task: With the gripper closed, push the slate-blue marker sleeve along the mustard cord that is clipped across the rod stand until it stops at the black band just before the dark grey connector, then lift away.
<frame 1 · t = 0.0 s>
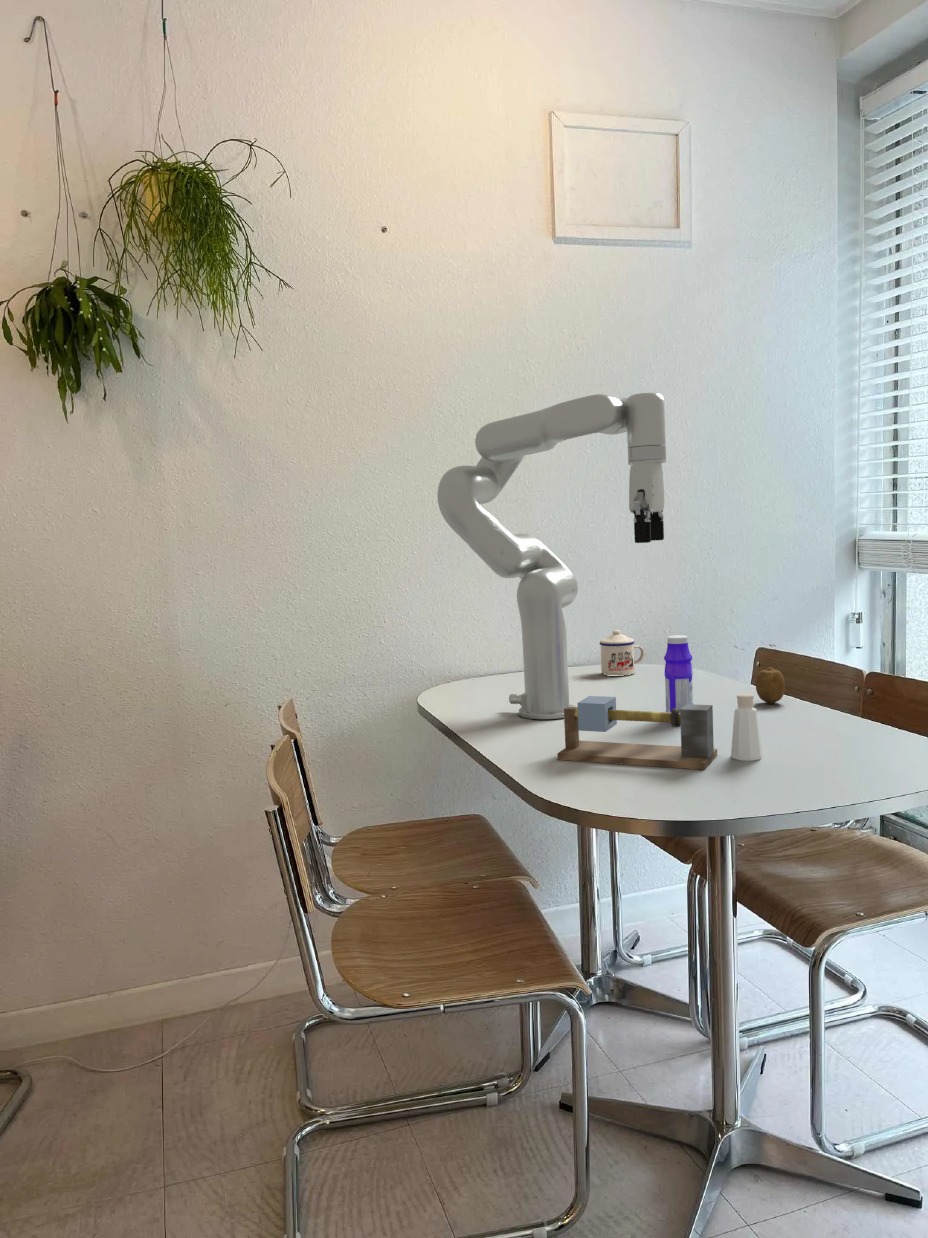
hand: (649, 541, 198), 37 cm above the table, tool pointing down, fingers open, 9 cm apart
fruit: (770, 704, 211), on the table
pepper shaker: (746, 758, 169), on the table
rod stand: (636, 757, 172), on the table
teacup with lid: (623, 674, 258), on the table
sleeve: (597, 713, 174), point 8 cm above the table, slide at 0.0 cm
bottle: (680, 721, 200), on the table
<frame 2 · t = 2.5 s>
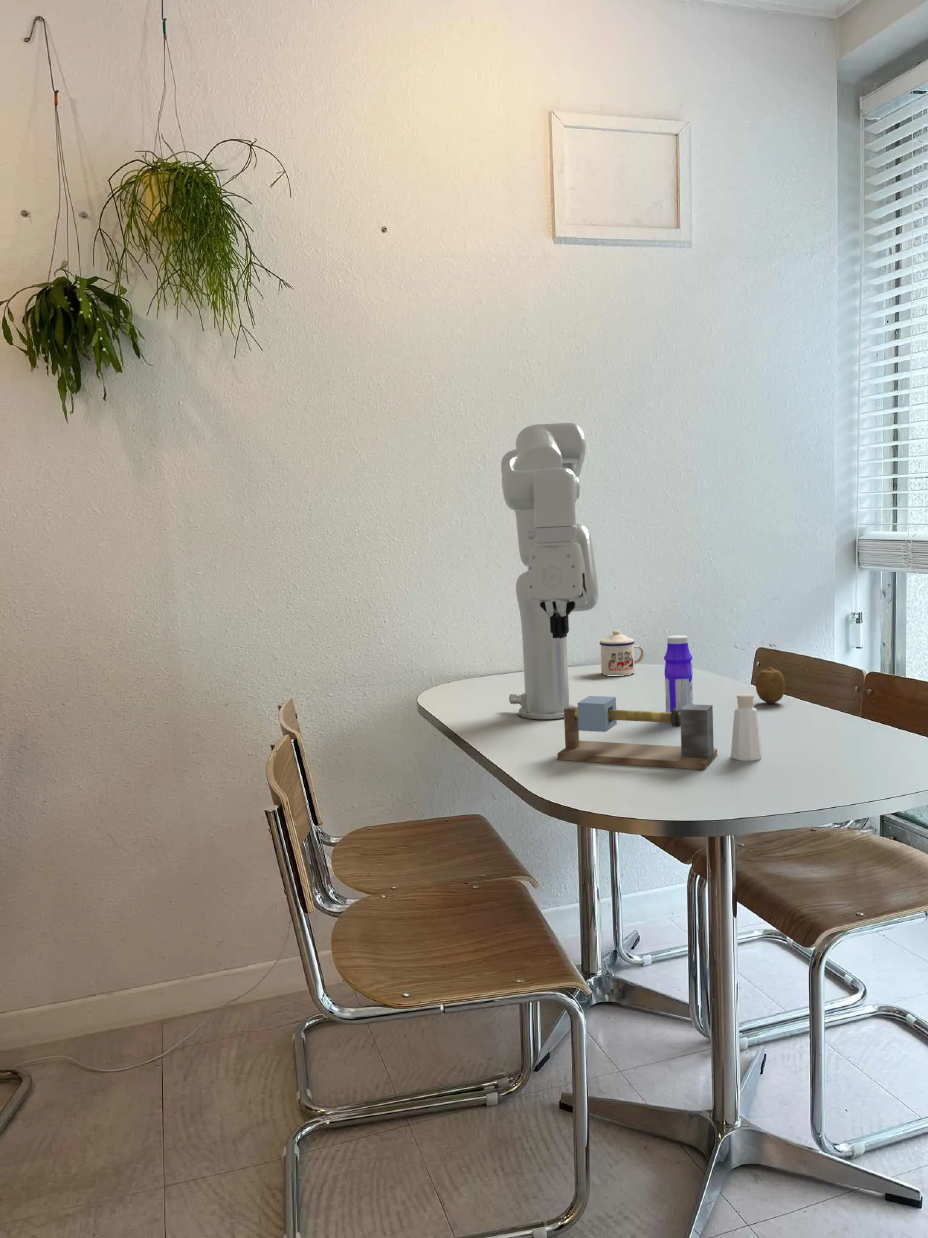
hand: (559, 637, 179), 21 cm above the table, tool pointing down, fingers closed
nothing on the table moved.
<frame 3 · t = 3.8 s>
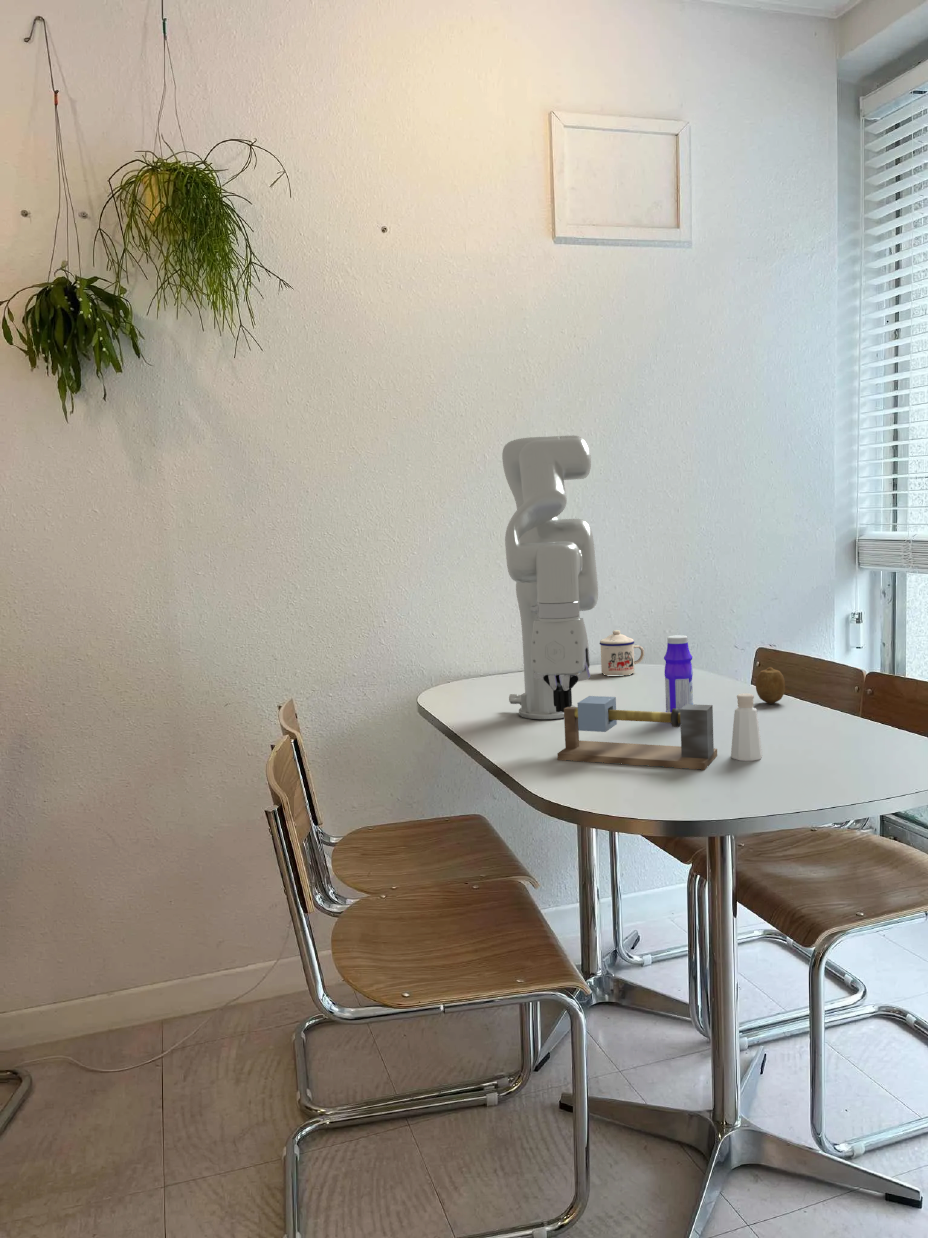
hand: (563, 710, 180), 7 cm above the table, tool pointing down, fingers closed
nothing on the table moved.
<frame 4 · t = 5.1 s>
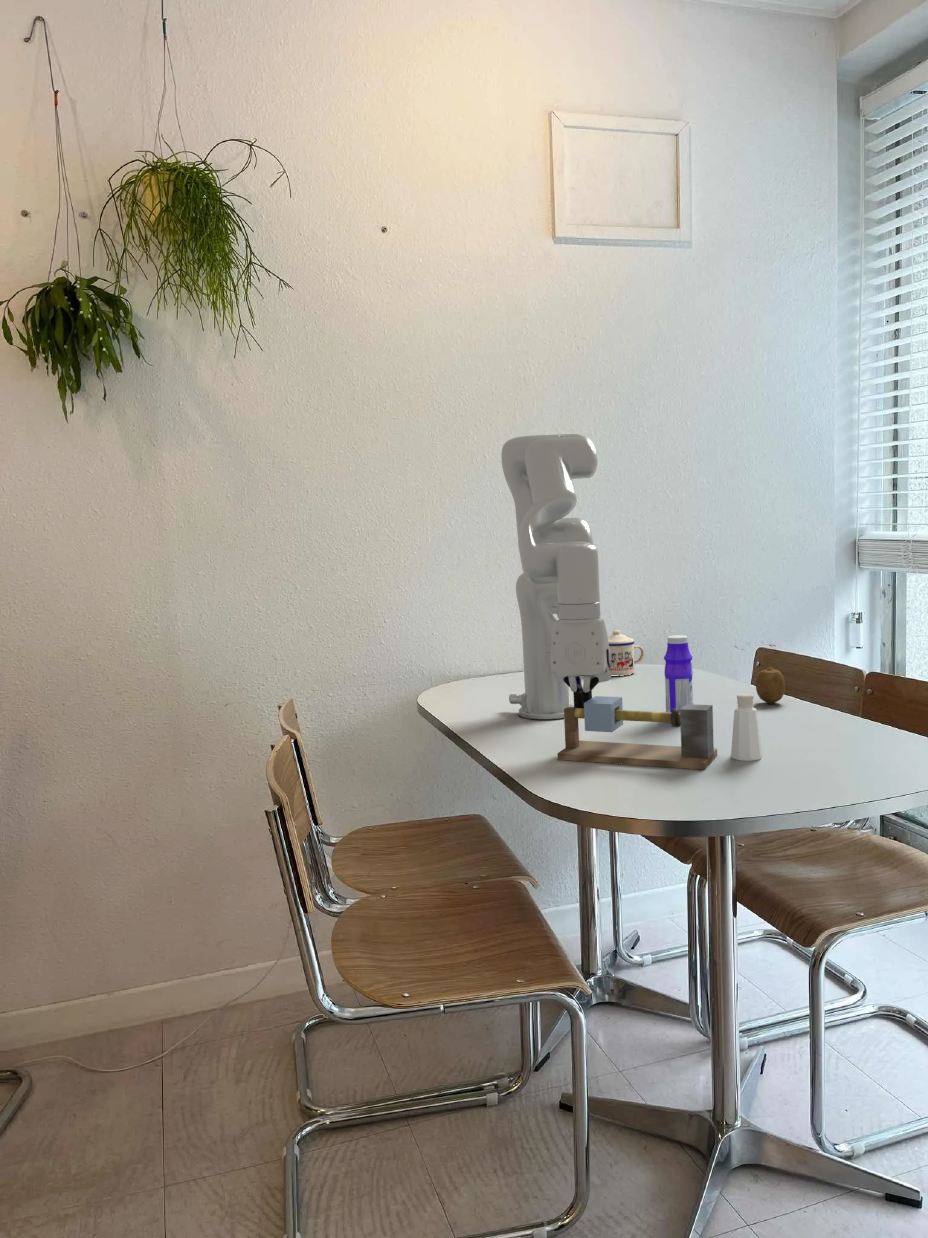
hand: (583, 712, 178), 7 cm above the table, tool pointing down, fingers closed
sleeve: (603, 713, 174), point 8 cm above the table, slide at 1.2 cm, touching gripper
everything else where it was.
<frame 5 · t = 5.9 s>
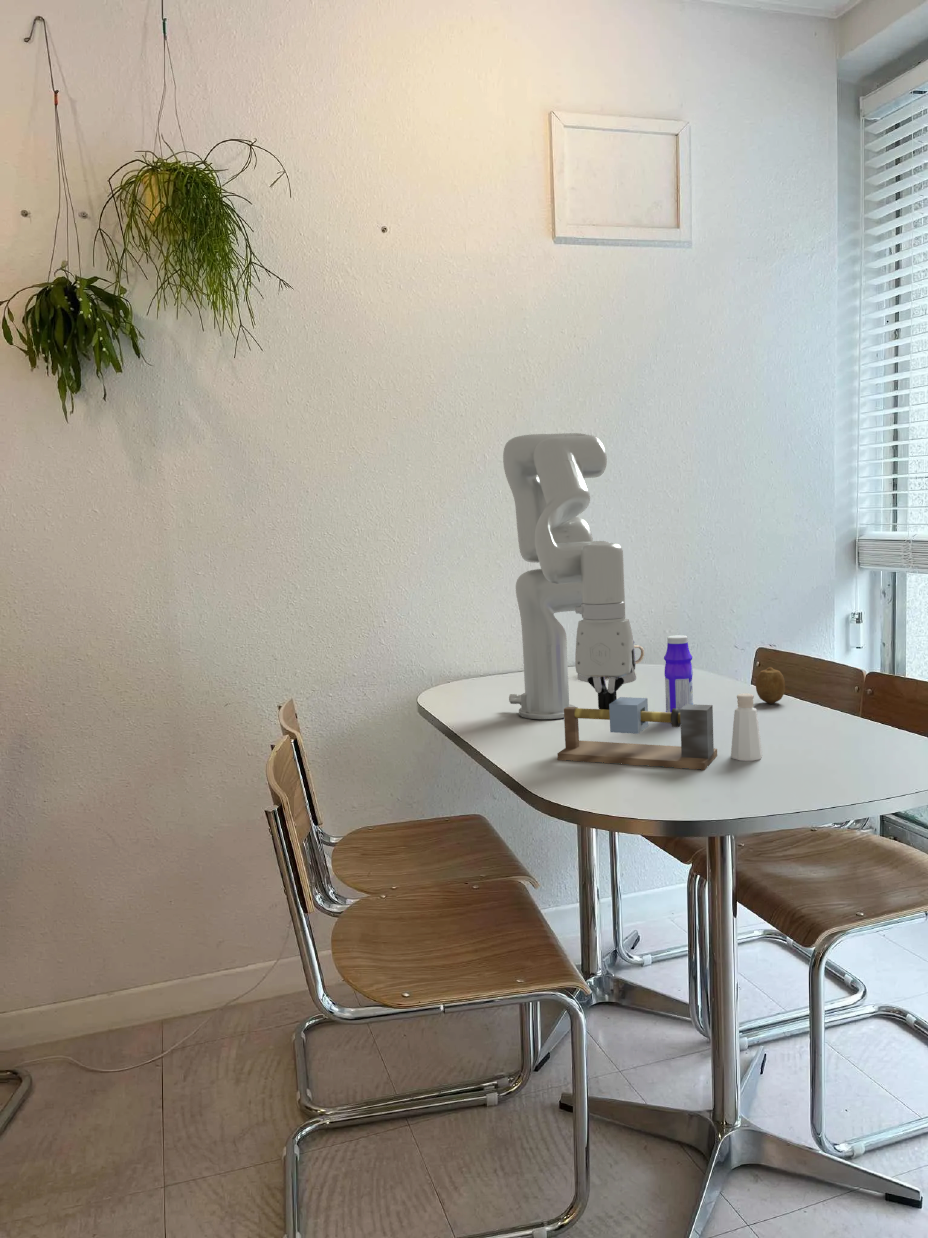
hand: (607, 713, 176), 7 cm above the table, tool pointing down, fingers closed
sleeve: (629, 715, 172), point 8 cm above the table, slide at 5.9 cm, touching gripper
everything else where it was.
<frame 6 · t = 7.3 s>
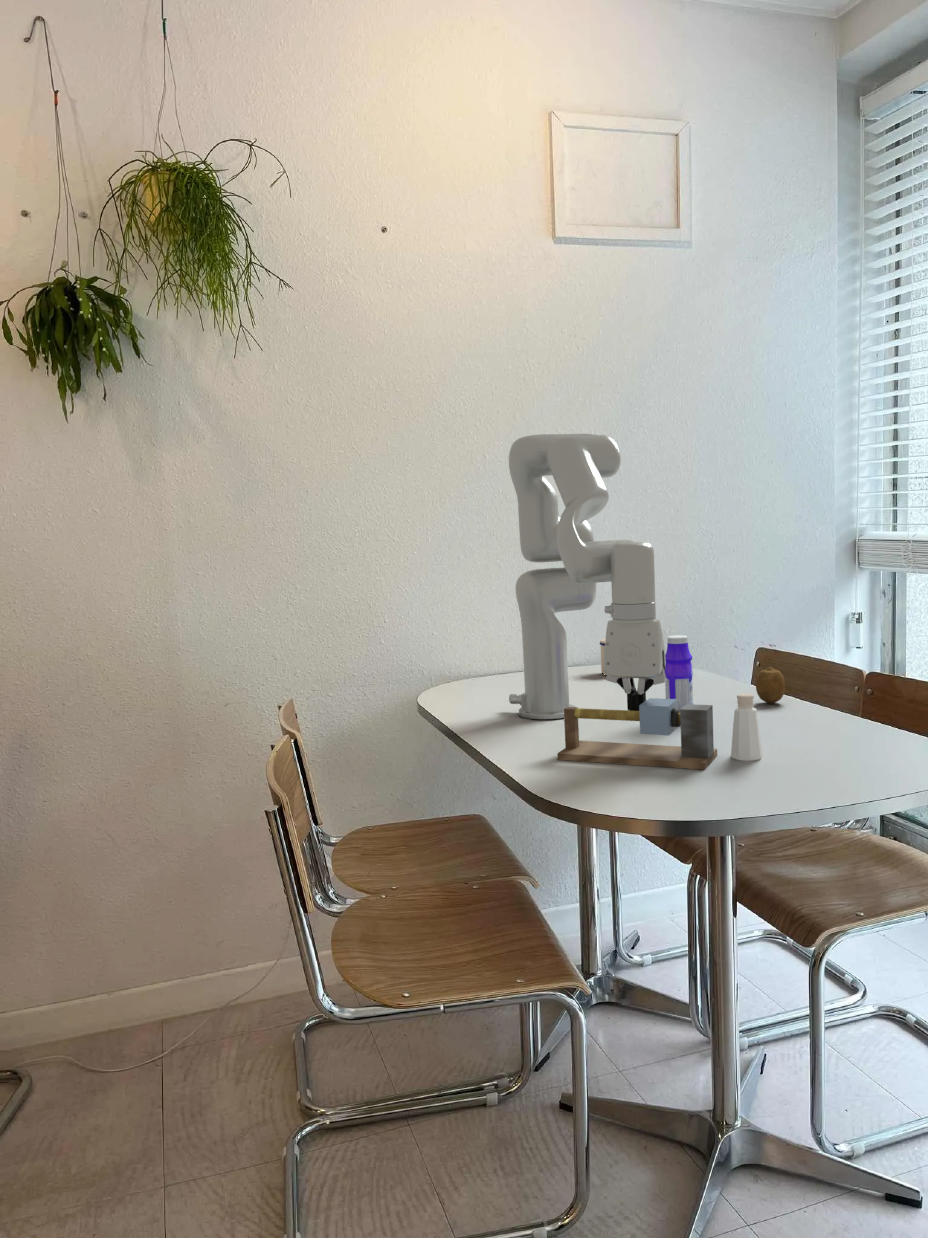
hand: (637, 714, 174), 7 cm above the table, tool pointing down, fingers closed
sleeve: (658, 716, 169), point 8 cm above the table, slide at 11.2 cm, touching rod stand, gripper
everything else where it was.
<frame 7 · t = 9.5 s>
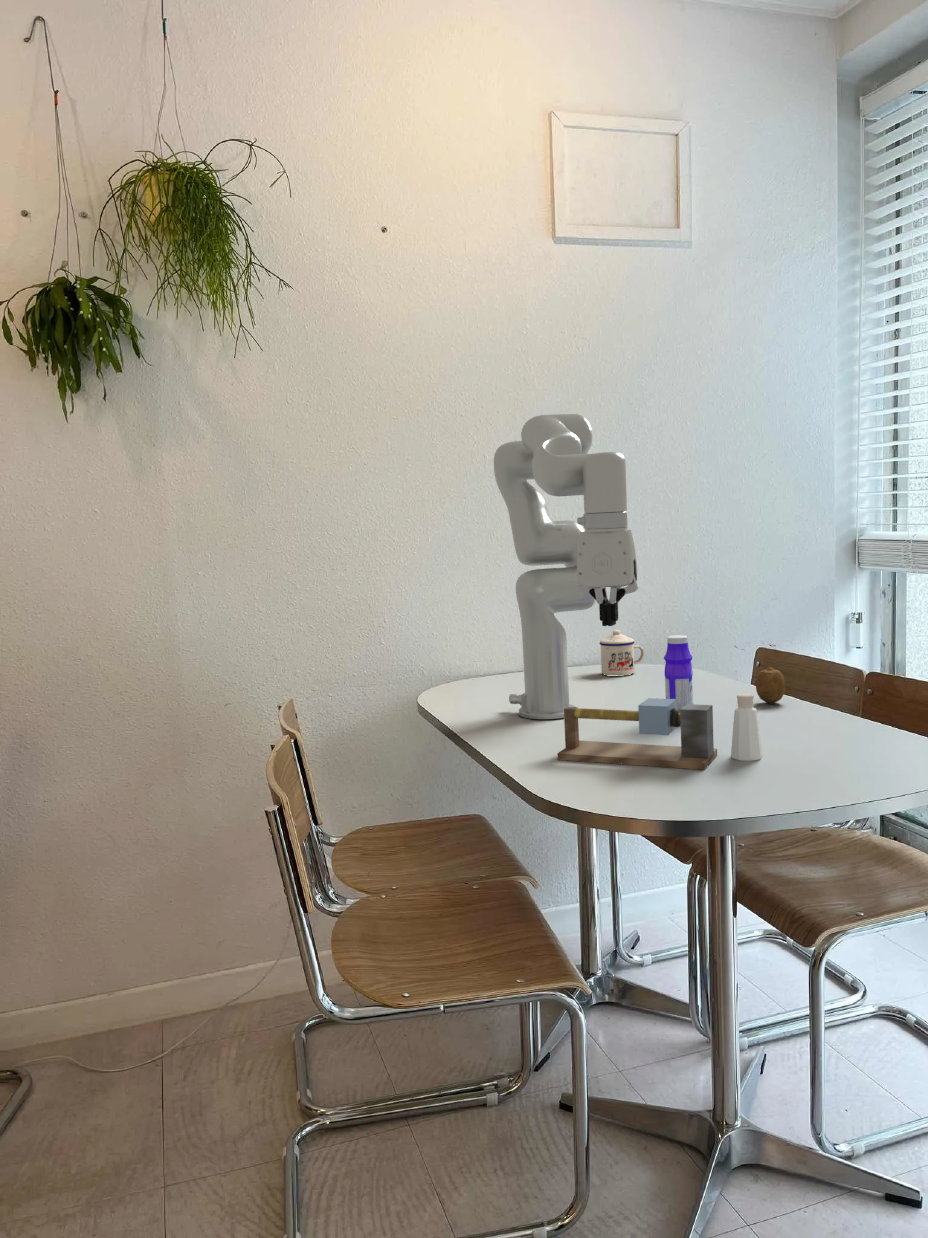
hand: (609, 624, 176), 23 cm above the table, tool pointing down, fingers closed
sleeve: (658, 716, 170), point 8 cm above the table, slide at 11.0 cm
everything else where it was.
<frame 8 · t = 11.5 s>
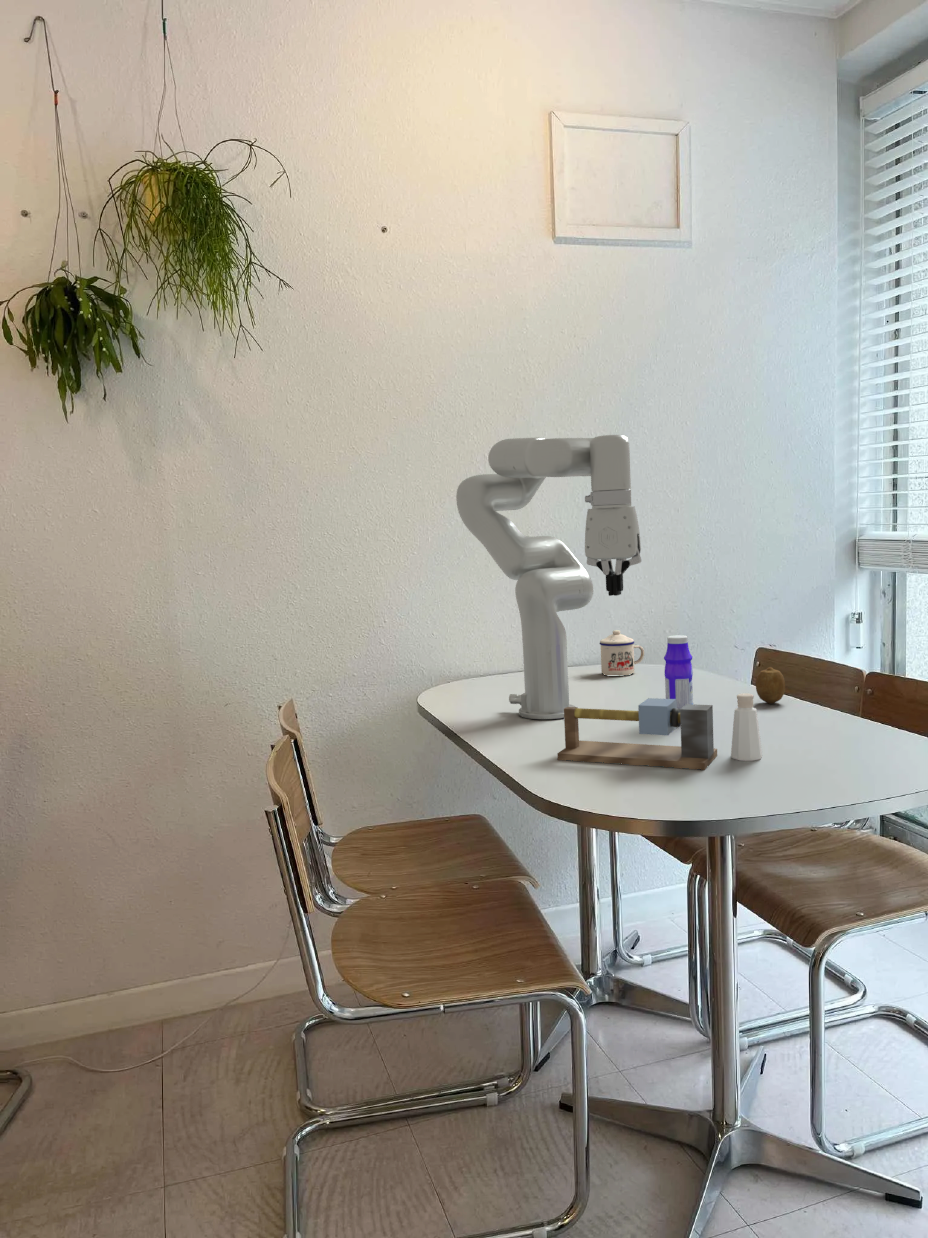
hand: (614, 594, 190), 27 cm above the table, tool pointing down, fingers closed
nothing on the table moved.
at the end: sleeve slide at 11.0 cm; the gripper is holding nothing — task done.
